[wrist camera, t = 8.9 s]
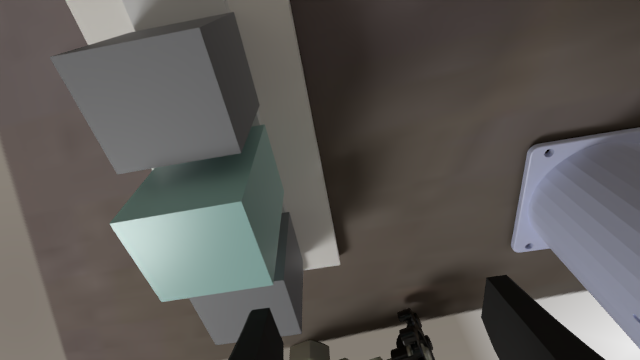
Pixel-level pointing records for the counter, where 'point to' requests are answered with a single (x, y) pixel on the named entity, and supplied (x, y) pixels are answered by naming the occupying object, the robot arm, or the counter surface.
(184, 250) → the block
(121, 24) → the rail plate
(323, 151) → the counter surface
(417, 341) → the valve
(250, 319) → the robot arm
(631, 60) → the counter surface
